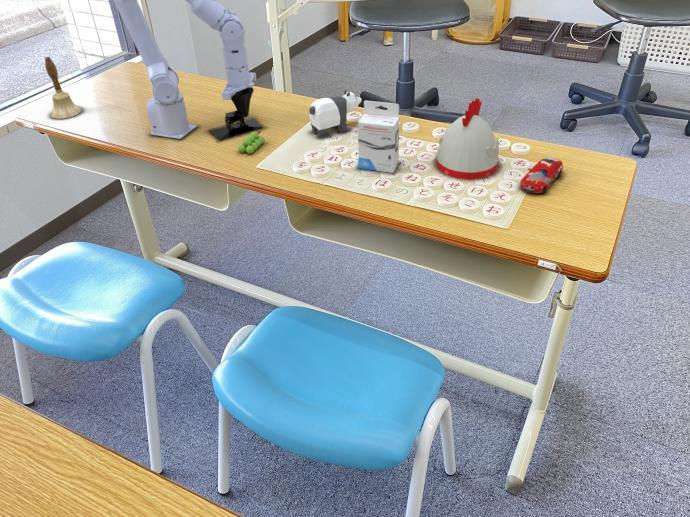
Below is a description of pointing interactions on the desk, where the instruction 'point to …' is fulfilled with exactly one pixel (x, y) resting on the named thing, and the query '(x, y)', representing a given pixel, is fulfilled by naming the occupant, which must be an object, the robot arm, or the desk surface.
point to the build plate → (235, 126)
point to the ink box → (379, 137)
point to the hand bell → (60, 95)
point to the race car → (542, 175)
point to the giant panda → (332, 112)
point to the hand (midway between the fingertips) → (244, 115)
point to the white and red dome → (468, 147)
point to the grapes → (251, 143)
